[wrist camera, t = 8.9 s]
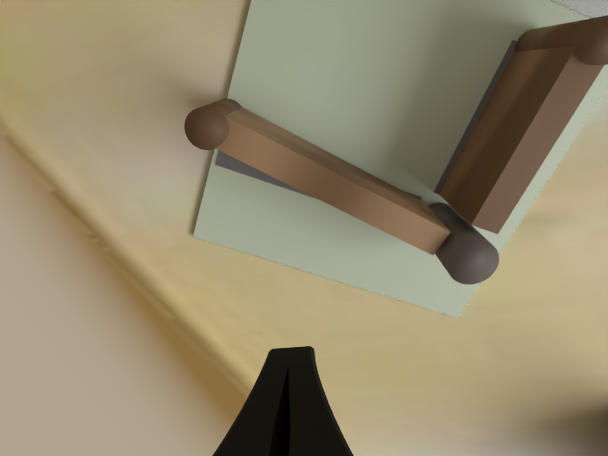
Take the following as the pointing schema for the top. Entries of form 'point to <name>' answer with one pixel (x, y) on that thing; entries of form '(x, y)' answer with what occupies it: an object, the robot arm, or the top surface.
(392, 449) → the top surface
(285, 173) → the fence gate
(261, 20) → the card
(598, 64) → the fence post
